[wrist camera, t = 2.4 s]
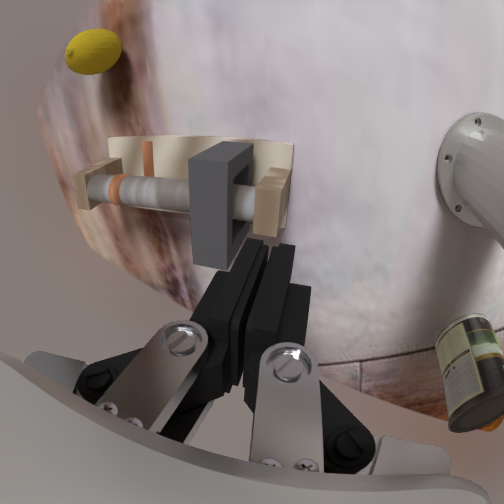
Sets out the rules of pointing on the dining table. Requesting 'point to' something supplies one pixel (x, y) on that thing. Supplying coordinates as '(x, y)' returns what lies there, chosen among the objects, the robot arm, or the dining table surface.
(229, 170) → the grey frame
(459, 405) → the coffee can
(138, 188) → the pipe stand
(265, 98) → the dining table surface
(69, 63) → the lemon
